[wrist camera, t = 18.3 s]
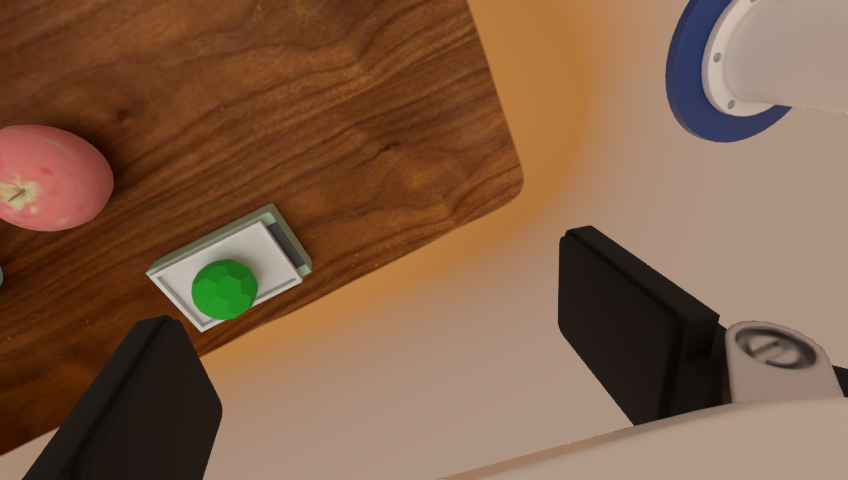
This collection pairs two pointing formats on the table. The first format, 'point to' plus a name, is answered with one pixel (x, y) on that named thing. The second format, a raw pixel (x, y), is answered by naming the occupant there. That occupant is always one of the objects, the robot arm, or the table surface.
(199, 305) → the polyhedron
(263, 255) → the scale
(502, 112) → the table surface
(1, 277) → the cup
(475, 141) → the table surface
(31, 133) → the apple
